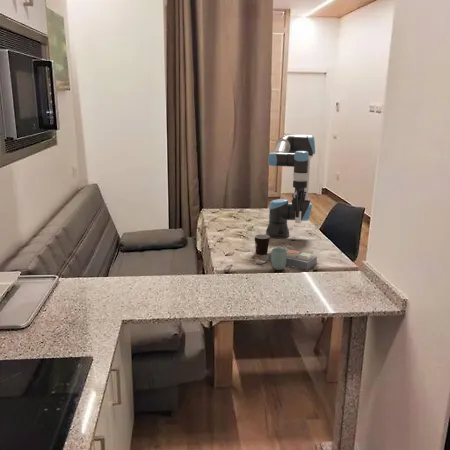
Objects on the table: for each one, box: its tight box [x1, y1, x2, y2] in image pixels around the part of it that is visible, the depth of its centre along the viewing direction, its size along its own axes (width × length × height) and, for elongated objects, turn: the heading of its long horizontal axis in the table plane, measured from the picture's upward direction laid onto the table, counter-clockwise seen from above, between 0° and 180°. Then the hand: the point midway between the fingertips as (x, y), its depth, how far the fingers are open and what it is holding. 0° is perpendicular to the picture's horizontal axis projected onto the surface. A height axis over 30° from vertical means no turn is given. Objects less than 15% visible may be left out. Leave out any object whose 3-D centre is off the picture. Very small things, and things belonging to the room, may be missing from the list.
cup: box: [270, 247, 288, 271], centre depth 231 cm, size 8×8×10 cm
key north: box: [298, 251, 314, 261], centre depth 237 cm, size 6×6×4 cm
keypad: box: [267, 249, 318, 271], centre depth 242 cm, size 12×23×4 cm, turn 55°
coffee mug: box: [254, 234, 271, 256], centre depth 256 cm, size 12×9×10 cm
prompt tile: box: [253, 258, 268, 266], centre depth 241 cm, size 6×5×1 cm
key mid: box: [287, 249, 301, 258], centre depth 241 cm, size 6×6×4 cm
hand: (297, 222), depth 247 cm, fingers closed
